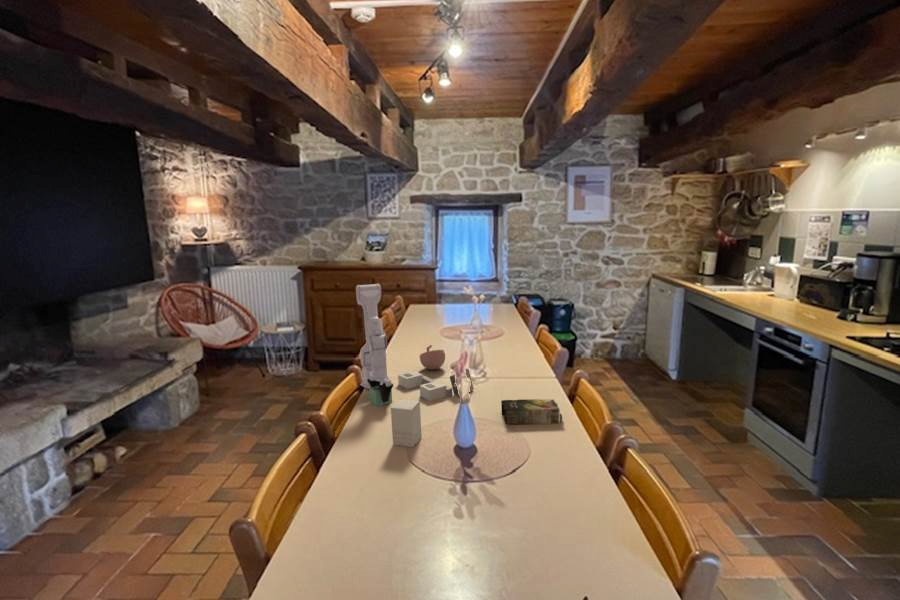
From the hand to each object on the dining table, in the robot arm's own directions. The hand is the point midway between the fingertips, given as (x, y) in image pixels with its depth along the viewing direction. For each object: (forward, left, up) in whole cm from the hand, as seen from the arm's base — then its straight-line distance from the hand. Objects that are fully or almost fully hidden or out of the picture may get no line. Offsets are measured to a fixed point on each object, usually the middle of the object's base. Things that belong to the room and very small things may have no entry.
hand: (380, 398), depth 182 cm
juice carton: (+48, +33, -2) cm, 59 cm away
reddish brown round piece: (-19, +38, -2) cm, 43 cm away
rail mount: (0, +20, -1) cm, 20 cm away
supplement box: (+34, -9, -2) cm, 35 cm away
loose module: (0, 0, -2) cm, 2 cm away
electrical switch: (+13, +30, -2) cm, 33 cm away
